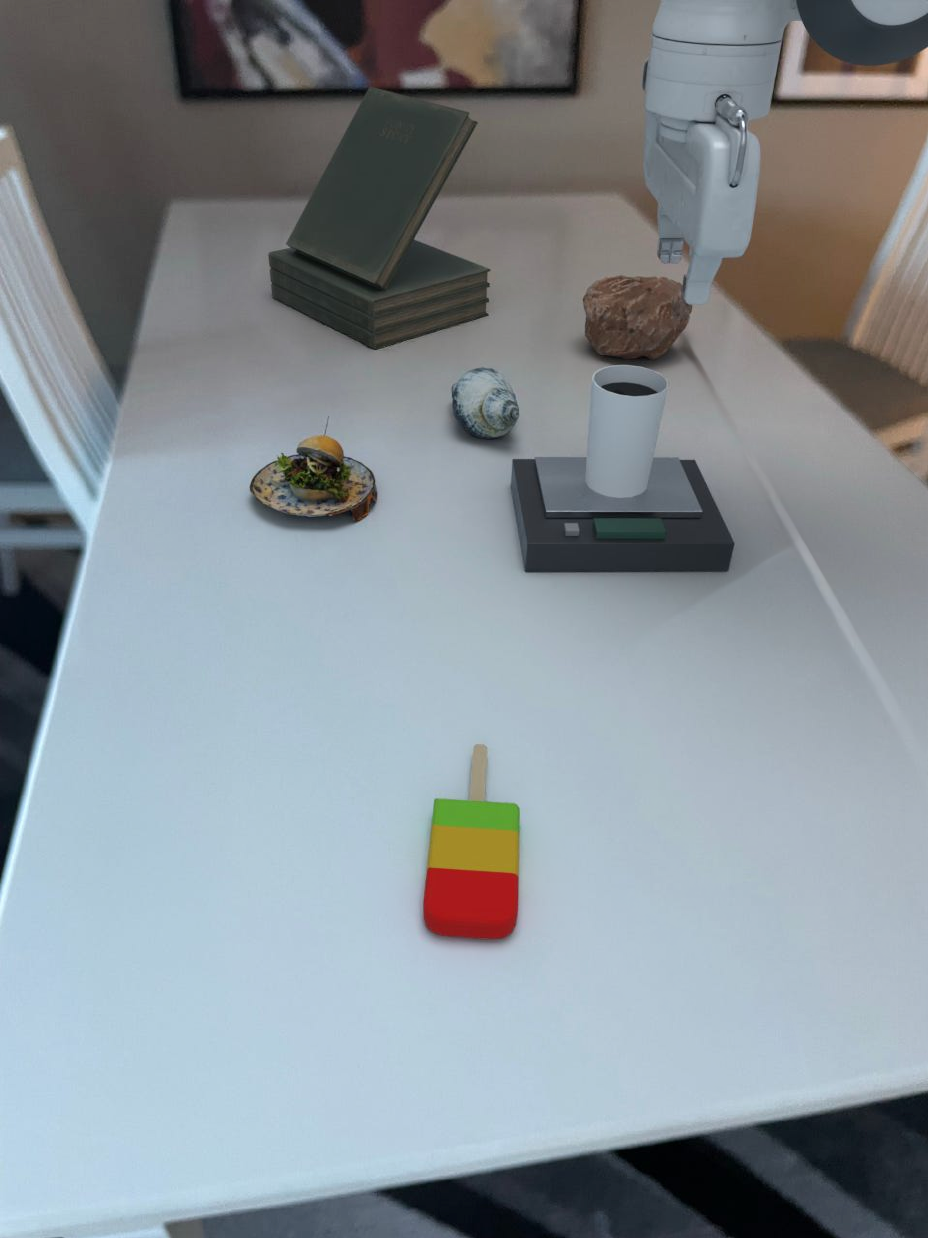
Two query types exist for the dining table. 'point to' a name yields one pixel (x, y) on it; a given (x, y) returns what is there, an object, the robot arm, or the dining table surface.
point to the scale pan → (576, 500)
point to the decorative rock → (634, 315)
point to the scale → (618, 534)
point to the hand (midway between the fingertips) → (680, 280)
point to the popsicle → (473, 863)
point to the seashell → (485, 403)
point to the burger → (316, 481)
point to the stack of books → (382, 229)
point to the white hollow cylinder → (623, 428)
